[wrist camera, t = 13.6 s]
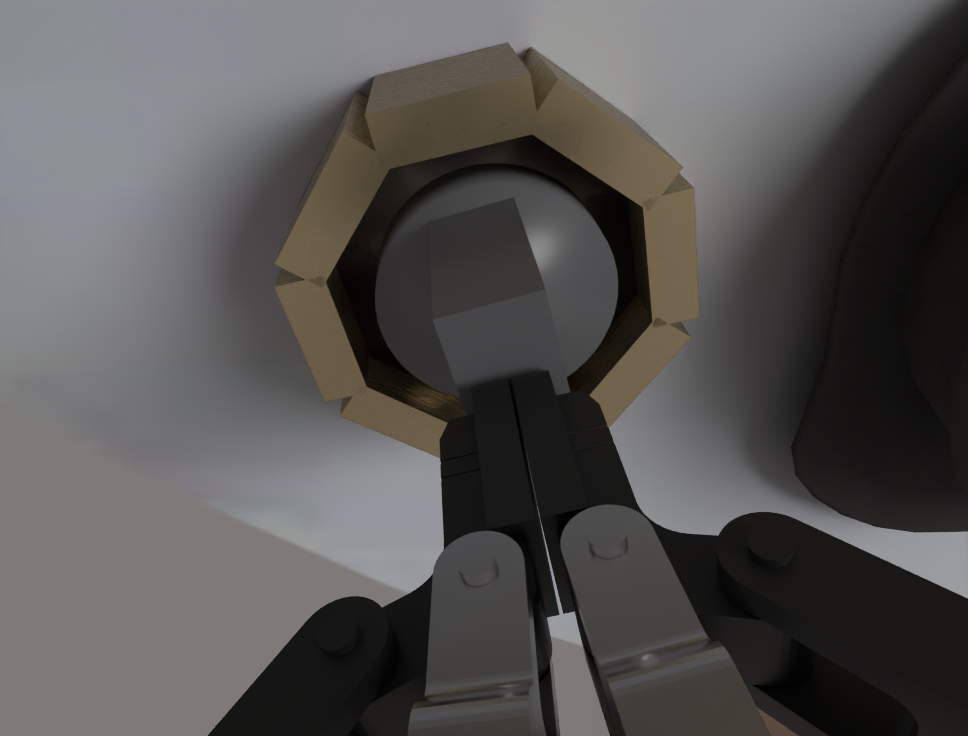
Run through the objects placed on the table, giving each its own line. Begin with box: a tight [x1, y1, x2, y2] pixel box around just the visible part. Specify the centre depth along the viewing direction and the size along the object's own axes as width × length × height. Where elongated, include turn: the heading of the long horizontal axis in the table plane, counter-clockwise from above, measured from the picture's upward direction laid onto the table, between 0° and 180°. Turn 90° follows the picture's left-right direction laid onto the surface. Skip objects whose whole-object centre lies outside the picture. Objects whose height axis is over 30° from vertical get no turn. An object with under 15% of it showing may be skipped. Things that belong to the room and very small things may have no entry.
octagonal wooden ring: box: [274, 43, 699, 458], centre depth 18 cm, size 10×10×4 cm
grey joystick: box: [375, 163, 618, 506], centre depth 15 cm, size 6×6×6 cm
